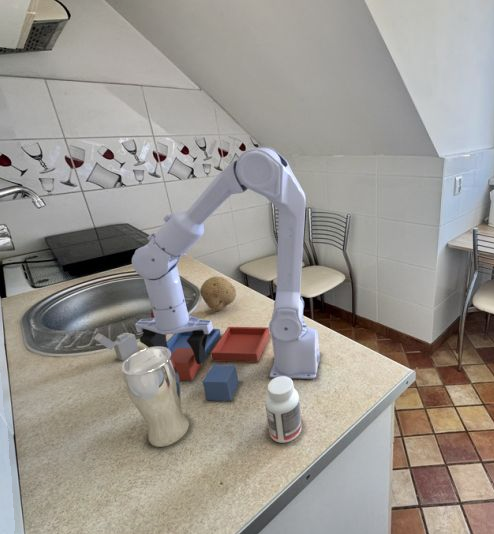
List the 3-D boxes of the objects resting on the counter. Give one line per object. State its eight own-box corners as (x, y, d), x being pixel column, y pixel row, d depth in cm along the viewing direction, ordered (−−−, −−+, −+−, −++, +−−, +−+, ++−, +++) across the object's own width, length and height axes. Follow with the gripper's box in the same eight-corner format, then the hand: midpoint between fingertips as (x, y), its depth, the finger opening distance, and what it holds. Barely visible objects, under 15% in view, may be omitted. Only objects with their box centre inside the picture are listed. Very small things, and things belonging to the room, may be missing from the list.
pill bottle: (303, 416, 57) (299, 372, 53) (300, 443, 52) (295, 397, 48) (272, 417, 57) (266, 373, 53) (266, 444, 52) (259, 398, 48)
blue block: (239, 383, 64) (235, 365, 63) (230, 401, 60) (226, 382, 58) (216, 382, 65) (212, 364, 63) (206, 400, 60) (202, 381, 59)
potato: (233, 298, 97) (228, 268, 93) (242, 311, 90) (237, 279, 86) (202, 307, 93) (195, 275, 89) (208, 321, 86) (201, 287, 82)
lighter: (135, 348, 76) (125, 319, 72) (139, 350, 75) (130, 320, 72) (103, 366, 70) (91, 335, 67) (108, 368, 69) (96, 338, 66)
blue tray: (221, 336, 79) (219, 328, 79) (202, 363, 70) (200, 355, 69) (181, 335, 80) (179, 327, 79) (157, 362, 71) (155, 354, 70)
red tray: (269, 334, 80) (268, 327, 79) (257, 362, 70) (256, 353, 69) (229, 334, 80) (228, 326, 79) (212, 360, 71) (210, 352, 70)
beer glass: (143, 456, 50) (115, 381, 44) (148, 422, 56) (124, 352, 50) (191, 440, 53) (171, 367, 47) (191, 409, 58) (173, 341, 53)
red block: (202, 365, 70) (198, 348, 68) (191, 380, 65) (187, 362, 64) (181, 364, 70) (177, 347, 68) (169, 380, 66) (164, 361, 64)
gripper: (214, 293, 64) (224, 349, 70) (144, 292, 65) (160, 347, 70) (197, 311, 58) (210, 371, 63) (120, 310, 59) (140, 369, 64)
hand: (183, 360), depth 66 cm, fingers open, 7 cm apart
